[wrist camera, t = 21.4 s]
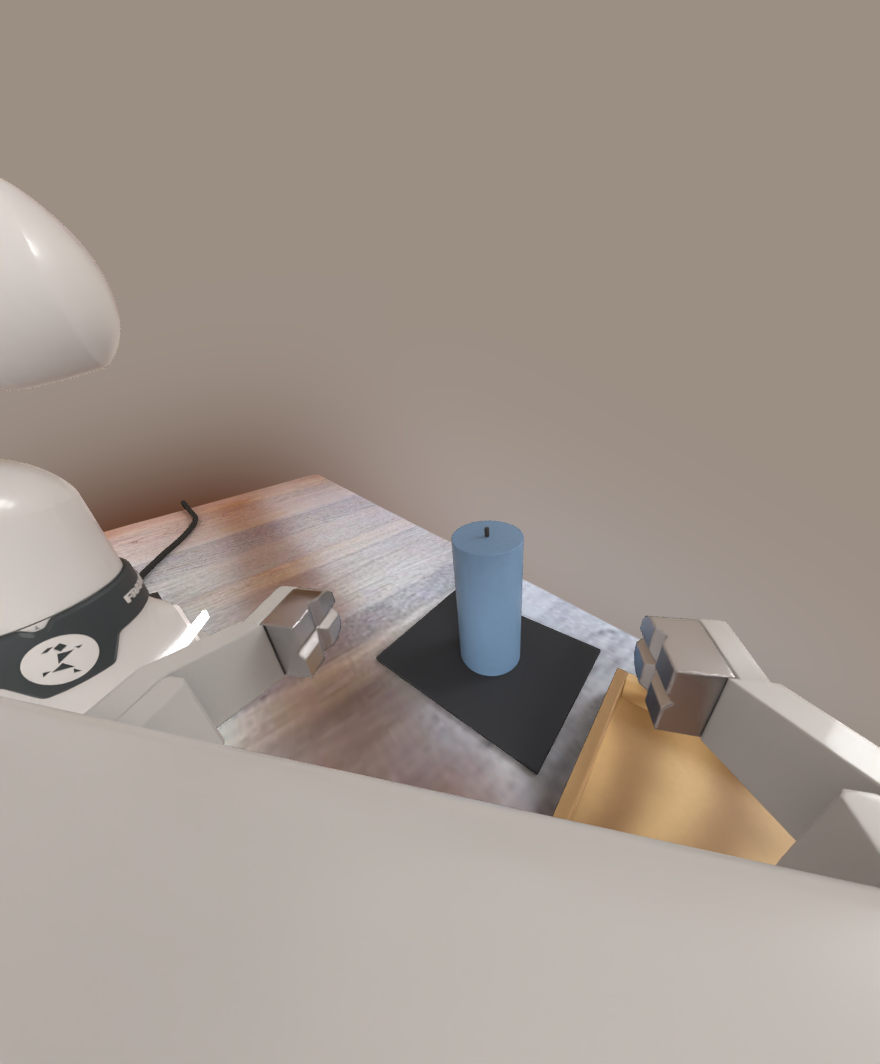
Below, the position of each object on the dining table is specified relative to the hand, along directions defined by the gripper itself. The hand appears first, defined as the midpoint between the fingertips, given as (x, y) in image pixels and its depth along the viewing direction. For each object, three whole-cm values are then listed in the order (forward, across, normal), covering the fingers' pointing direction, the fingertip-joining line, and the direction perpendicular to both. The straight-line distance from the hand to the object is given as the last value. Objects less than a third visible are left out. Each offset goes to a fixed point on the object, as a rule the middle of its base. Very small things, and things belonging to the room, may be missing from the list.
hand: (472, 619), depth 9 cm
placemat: (+18, +2, +21) cm, 28 cm away
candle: (+18, +2, +21) cm, 28 cm away
